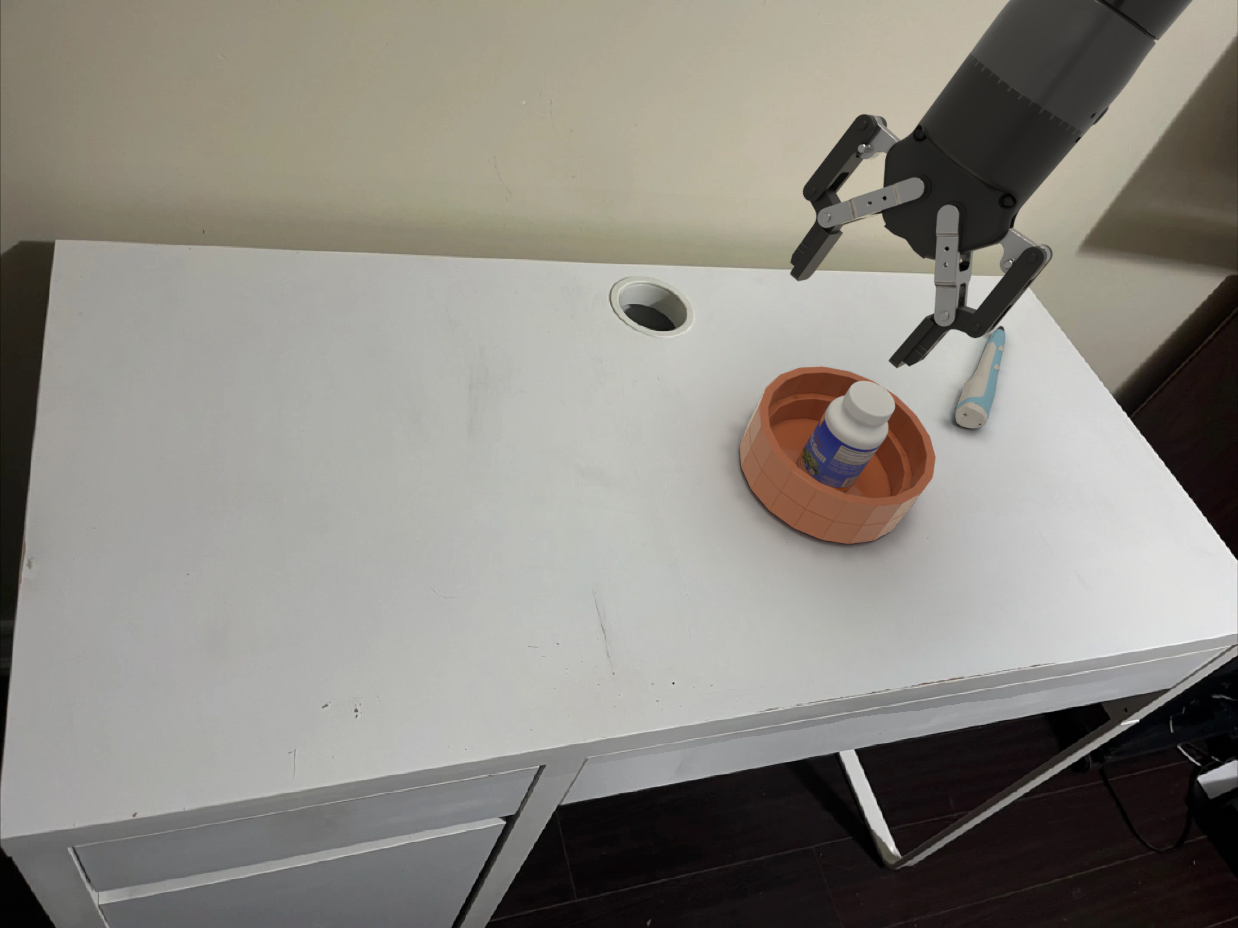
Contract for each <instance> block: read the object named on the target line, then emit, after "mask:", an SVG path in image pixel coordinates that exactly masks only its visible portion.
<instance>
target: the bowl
mask: <svg viewBox="0 0 1238 928" xmlns="http://www.w3.org/2000/svg"><path fill="white" fill-rule="evenodd" d="M859 381H869V382H873V383H876V384H878V385H880V384H879V383H877V382H876V381H874V380H872V379H869V378H868V377H864V376H862V375H860V374H858V373H855V372H852V371H850V370H845V369H839V368H834V367H829V366H821V365H819V366H802V367H797V368H794V369H791V370H789V371H786V372H783V373H781V374H779V375H778V376H777V377H776V378H775V379H773V380H772V381H771V382H770V383H769V384H768V385H767V386H766V387H765V389H764V390H763V393H762V394H761V397H760V399H759V400H758V403H757V405H756V407H755V409H754V411H753V413H752V415H751V418H750V419H749V422H748V424H747V425H746V427H745V431H744V433H743V435H742V438H741V441H740V444H739V457H740V468H741V470H742V472H743V475H744V477H745V479H746V481H747V483H748V486H749V488H750V490H751V491H752V493H754V494H755V496H756V497H757V499H759V500H760V501H761V503H762V504H763V505H764V506H765V507H766V509H767V510H768V511H769V512H770V513H772V514H773V515H774V516H776V517H777V518H778V519H780V520H781V521H782V522H784V523H785V524H787V525H788V526H789V527H791V528H793V529H795V530H796V531H799V532H802V533H804V534H806V535H808V536H811V537H814V538H816V539H819V540H822V541H826V542H827V541H828V542H834V543H841V544H847V545H853V544H859V543H866V542H873V541H876V540H877V539H879V538H881V537H883V536H885V535H887V534H889V533H891V532H892V531H893V530H894V529H895V528H896V527H897V526H898V524H899V523H900V522H901V520H902V519H903V518H904V516H906V514H907V513H908V511H909V510H910V509H911V508H912V506H913V505H914V504H915V502H916V501H917V500H918V498H920V496H921V495H922V493H923V492H924V490H925V489H926V488H927V486H928V485H929V484H930V482H931V481H932V479H933V477H934V473H935V472H934V471H935V466H936V465H935V463H936V453H935V449H934V445H933V442H932V439H931V436H930V434H929V433H928V431H927V429H926V428H925V426H924V425H923V423H922V422H921V419H920V418H919V417H918V415H917V414H916V413H915V412H914V411H913V410H912V409H911V408H910V407H909V406H908V405H907V404H906V403H905V402H904V401H902V399H901V398H900V397H899V396H898V395H896V394H894V393H893V392H891V391H890V390H889V389H886V388H885V387H884V386H882V385H880V386H882V387H883V388H885V389H886V390H887V391H888V392H889V393H890V394H891V396H892V397H893V399H894V402H895V409H894V412H893V413H892V415H891V416H890V418H889V420H888V421H887V422H888V434H887V436H886V438H885V439H884V441H883V442H882V444H881V445H880V447H879V448H878V450H877V451H876V452H875V454H874V455H873V457H872V458H871V459H870V461H869V462H868V464H867V465H866V467H865V468H864V469H863V471H862V472H861V474H860V475H859V477H858V478H857V480H856V481H855V483H854V484H853V485H852V486H851V487H850V488H849V489H848V490H846V491H844V492H841V491H839V490H836V489H834V488H832V487H829V486H827V485H824V484H822V483H820V482H818V481H817V480H816V479H814V478H813V477H811V476H810V475H808V474H807V473H806V472H804V471H803V470H801V469H800V468H799V465H798V460H799V456H800V454H801V452H802V450H803V448H804V446H805V445H806V443H807V441H808V440H809V438H810V436H811V435H812V433H813V431H814V430H815V428H816V426H817V425H818V423H819V421H820V420H821V418H822V416H823V414H824V413H825V411H826V409H827V408H828V406H829V405H830V403H831V402H832V401H833V400H835V399H836V398H838V397H841V396H845V394H846V393H847V391H848V390H849V388H850V387H851V386H852V385H853V384H854V383H856V382H859Z"/></svg>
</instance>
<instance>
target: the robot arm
mask: <svg viewBox="0 0 1238 928" xmlns="http://www.w3.org/2000/svg"><path fill="white" fill-rule="evenodd" d="M1193 1H1194V0H1008V1H1007V2H1006V4H1005V5H1004V6H1003V7H1002V9H1001V10H1000V11H999V13H998V14H997V15H996V17H995V18H994V20H993V21H992V22H991V23H990V25H989V26H988V28H987V29H986V30H985V31H984V33H982V35H981V37H980V38H979V40H978V41H977V42H976V44H975V45H974V47H972V50H971V51H970V52H969V53H968V55H967V56H966V58H965V59H964V60H963V61H962V63H961V64H960V66H959V67H958V68H957V70H956V71H955V73H954V74H953V76H952V77H951V78H950V79H949V81H948V82H947V83H946V85H945V86H944V88H943V89H942V91H940V93H939V94H938V96H937V97H936V98H935V100H934V101H933V102H932V104H931V106H929V108H928V109H927V111H925V113H924V115H923V116H922V117H921V119H920V120H919V122H918V123H917V124H916V126H915V127H914V128H913V130H912V131H911V132H910V133H909V134H908V135H907V136H905V137H904V138H902V139H900V138H899V137H898V136H897V134H895V133H894V132H892V130H891V129H889V128H888V122H887V120H886V118H885V117H884V116H880V115H875V114H867V113H862V114H859V115H857V117H855V119H854V120H853V121H852V123H851V124H850V126H849V127H848V128H847V129H846V130H845V132H844V133H843V134H842V135H841V137H840V139H839V140H838V141H837V142H836V144H835V145H834V146H833V147H832V148H831V150H830V152H829V153H828V154H827V155H826V157H825V158H824V159H823V161H821V164H819V166H818V167H817V168H816V170H815V171H814V173H813V174H811V176H810V178H809V179H808V180H807V182H806V183H805V184H804V186H803V187H802V195H803V198H804V199H805V200H806V201H808V202H809V203H810V205H811V207H812V208H813V210H814V211H815V221H814V223H813V225H812V226H811V228H810V229H809V230H808V232H807V233H806V234H805V236H804V237H803V239H802V240H801V241H800V243H799V244H798V246H797V247H796V248H795V250H794V251H793V252H792V255H791V258H790V261H789V262H790V264H791V265H792V266H793V268H791V270H790V273H789V276H791V277H792V278H793V279H794V280H795V281H797V282H803V281H806V280H809V279H810V278H811V277H812V276H813V275H814V274H815V272H816V271H817V269H818V268H819V267H820V265H821V264H822V263H823V261H824V260H825V258H827V256H828V255H829V253H830V252H831V251H832V249H833V248H834V246H835V245H836V244H837V242H839V239H841V237H842V235H843V234H844V232H843V231H842V230H841V229H842V228H843V227H844V226H848V225H850V224H853V223H856V222H860V221H863V220H866V219H870V218H874V217H878V216H881V217H882V220H883V223H884V224H885V225H883V227H884V228H885V230H887V231H889V233H891V234H893V236H897V237H899V238H901V239H903V240H905V241H906V242H907V244H908V245H909V246H910V248H911V249H912V251H913V252H914V253H915V254H917V255H918V256H919V257H920V258H921V259H923V260H924V259H927V260H931V261H935V262H934V275H933V284H934V286H935V297H934V310H933V311H934V312H933V313H931V314H929V315H926V316H925V317H924V318H923V319H922V320H921V322H920V323H919V324H918V325H917V326H916V327H915V328H914V330H913V331H912V332H911V333H910V334H909V335H908V337H906V339H905V340H904V341H903V342H902V343H901V345H900V346H899V347H898V348H897V349H896V351H894V353H893V354H892V355H891V357H889V359H888V363H890V364H891V365H892V366H893V367H894V368H895V369H899V368H900V367H903V366H905V365H906V366H908V367H912V366H914V365H915V364H917V363H920V362H922V361H923V360H925V359H926V358H927V357H928V356H929V354H930V353H931V352H932V351H933V350H934V349H935V348H936V347H937V345H938V344H939V343H940V342H941V341H942V340H943V339H944V337H945V336H947V334H949V332H950V331H951V330H955V331H959V332H960V333H961V332H962V333H964V334H966V335H967V336H968V337H970V338H971V339H979V338H981V337H983V336H985V335H986V334H988V333H990V332H992V331H994V329H996V327H997V326H999V324H1000V322H1002V320H1003V319H1004V318H1005V316H1006V315H1007V314H1008V313H1009V311H1010V310H1011V309H1012V308H1013V307H1014V305H1015V304H1016V303H1017V302H1018V301H1019V299H1020V298H1021V297H1022V296H1023V294H1025V292H1026V291H1027V290H1028V289H1029V288H1030V286H1031V285H1032V284H1033V282H1034V281H1035V280H1036V279H1037V278H1038V277H1039V276H1040V274H1041V273H1042V272H1043V270H1044V269H1045V268H1046V267H1047V266H1048V265H1049V264H1050V262H1051V261H1052V260H1053V255H1054V253H1053V250H1052V248H1051V247H1050V246H1049V245H1048V244H1044V243H1040V244H1039V243H1037V242H1035V241H1034V240H1032V239H1030V238H1029V237H1028V236H1026V235H1025V234H1023V232H1021V231H1019V230H1017V229H1016V228H1014V227H1015V221H1016V219H1017V216H1018V214H1019V212H1020V211H1021V209H1022V208H1023V206H1024V205H1025V204H1026V203H1027V202H1028V201H1029V199H1030V198H1031V197H1032V196H1033V195H1034V194H1035V192H1037V190H1038V189H1039V188H1040V186H1041V185H1042V184H1043V183H1044V182H1045V181H1046V180H1047V179H1048V178H1049V176H1050V175H1051V174H1052V173H1053V172H1054V170H1055V169H1056V168H1057V167H1058V165H1060V163H1061V162H1063V160H1064V159H1065V158H1066V156H1067V155H1068V154H1069V153H1070V152H1071V150H1072V149H1073V148H1074V147H1075V146H1076V145H1077V144H1078V143H1079V142H1080V140H1081V139H1083V137H1084V136H1085V135H1086V133H1087V132H1088V131H1089V130H1090V129H1091V128H1092V127H1093V126H1095V125H1097V124H1098V122H1099V121H1100V120H1102V118H1103V117H1104V116H1105V114H1106V113H1107V112H1108V110H1109V109H1110V106H1111V105H1112V104H1113V102H1114V101H1115V100H1116V99H1117V97H1119V95H1120V94H1121V93H1122V91H1123V90H1124V89H1125V88H1126V86H1127V85H1128V84H1129V82H1130V81H1131V79H1133V77H1134V75H1135V74H1136V72H1137V71H1138V70H1139V68H1140V66H1141V64H1142V63H1143V62H1144V60H1145V59H1146V58H1147V56H1148V55H1149V54H1150V52H1151V51H1152V50H1153V49H1154V47H1155V46H1156V44H1157V43H1156V41H1159V40H1160V39H1161V38H1162V37H1163V36H1164V35H1165V33H1166V32H1167V31H1168V30H1169V29H1170V28H1171V27H1172V26H1173V25H1174V23H1175V22H1176V21H1177V20H1178V19H1179V18H1180V16H1181V15H1182V14H1183V13H1184V12H1185V10H1186V9H1188V7H1189V6H1190V4H1191V3H1193ZM883 153H884V154H886V155H885V159H884V168H883V169H884V170H883V184H882V187H881V188H879V189H876V190H873V191H869V192H867V193H864V194H860V195H857V196H854V197H852V198H850V199H848V200H844V201H841V199H840V197H839V195H838V192H839V191H840V190H841V188H842V187H843V186H844V185H845V184H846V182H847V181H848V180H849V178H851V176H852V175H853V173H854V172H855V171H856V169H857V168H858V167H859V166H860V164H861V163H862V162H863V160H874V159H876V158H878V156H879V155H881V154H883ZM999 244H1000V245H1001V246H1002V248H1003V254H1002V257H1001V259H1000V261H999V267H1000V270H1001V272H1002V273H1004V275H1003V276H1002V278H1001V279H1000V280H999V281H998V282H997V283H996V285H995V286H994V287H993V288H992V290H991V291H990V292H989V293H988V295H987V296H986V297H985V299H984V300H983V301H982V302H981V304H980V305H979V306H977V308H973V307H970V306H967V305H968V295H969V285H970V281H971V278H972V274H973V273H972V271H973V258H974V252H975V251H978V250H982V249H985V248H989V247H992V246H995V245H999Z"/></svg>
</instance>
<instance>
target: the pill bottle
mask: <svg viewBox="0 0 1238 928" xmlns="http://www.w3.org/2000/svg"><path fill="white" fill-rule="evenodd" d="M876 383H877V382H876ZM876 383H873V382H869V381H859V382H856V383H854V384H853V385H852V386H851V387H850V388H849V390H848V391H847V393H846V394H845V396H841V397H838V398H836V399H835V400H833V401H832V402H831V403H830V405H829V406H828V408H827V409H826V411H825V413H824V414H823V416H822V418H821V420H820V421H819V423H818V425H817V426H816V428H815V430H814V431H813V433H812V435H811V436H810V438H809V440H808V441H807V443H806V445H805V446H804V448H803V450H802V452H801V454H800V456H799V460H798V465H799V468H800V469H801V470H803V471H804V472H806V473H807V474H808V475H810V476H811V477H813V478H814V479H816V480H817V481H818V482H820V483H822V484H824V485H827V486H829V487H832V488H834V489H836V490H839V491H841V492H844V491H846V490H848V489H849V488H850V487H851V486H852V485H853V484H854V483H855V481H856V480H857V478H858V477H859V475H860V474H861V472H862V471H863V469H864V468H865V467H866V465H867V464H868V462H869V461H870V459H871V458H872V457H873V455H874V454H875V452H876V451H877V450H878V448H879V447H880V445H881V444H882V442H883V441H884V439H885V438H886V436H887V434H888V422H887V421H888V420H889V418H890V416H891V415H892V413H893V412H894V409H895V402H894V399H893V397H892V396H891V394H890V393H889V392H888V391H889V390H888V389H887V390H888V391H887V390H886V388H885V387H884V386H882V385H881V386H880V384H879V383H877V384H876ZM878 384H879V385H878ZM883 387H884V388H883Z"/></svg>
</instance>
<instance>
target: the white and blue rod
mask: <svg viewBox="0 0 1238 928" xmlns="http://www.w3.org/2000/svg"><path fill="white" fill-rule="evenodd" d="M1005 344H1006V332H1005V327H1004V326H1003V325H998V327H997V328H995V330H993V332H992V334H991V335H990V337H989V338H988V341H987V343H986V346H985V348H984V351H983V352H982V354H981V358H980V360H979V362H978V364H977V366H976V370H975V372H974V373H973V375H972V377H971V378H970V379H968V380H967V381H966V382H965V383H964V384H963V388H962V391H961V393H960V397H959V400H958V403H957V405H956V408H955V411H954V412H955V417H954V418H955V422H956V424H958V425H959V426H960V427H963V428H966V429H979V428H981V427H983V426H985V425H986V424H987V421H988V419H989V416H990V413H991V409H992V406H993V403H994V399H995V396H996V390H997V385H998V377H999V372H1000V370H1001V369H1000V367H1001V363H1002V358H1003V353H1004V351H1005Z"/></svg>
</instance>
